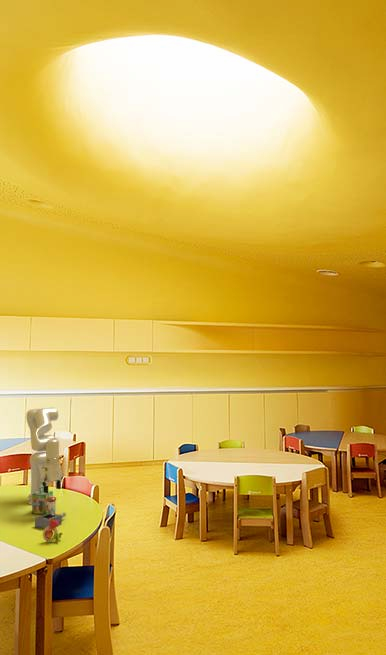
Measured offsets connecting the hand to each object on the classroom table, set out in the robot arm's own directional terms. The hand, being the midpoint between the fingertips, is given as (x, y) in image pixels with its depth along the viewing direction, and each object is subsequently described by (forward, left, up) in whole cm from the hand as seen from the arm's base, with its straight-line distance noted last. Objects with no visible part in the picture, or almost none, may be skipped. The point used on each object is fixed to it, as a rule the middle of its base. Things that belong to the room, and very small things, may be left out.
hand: (52, 490), depth 264 cm
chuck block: (+9, -8, -15) cm, 19 cm away
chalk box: (-13, +4, -15) cm, 20 cm away
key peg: (-1, 0, -15) cm, 15 cm away
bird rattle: (+29, -28, -15) cm, 43 cm away
